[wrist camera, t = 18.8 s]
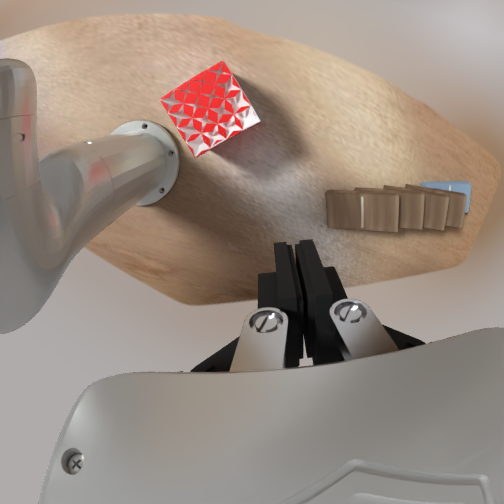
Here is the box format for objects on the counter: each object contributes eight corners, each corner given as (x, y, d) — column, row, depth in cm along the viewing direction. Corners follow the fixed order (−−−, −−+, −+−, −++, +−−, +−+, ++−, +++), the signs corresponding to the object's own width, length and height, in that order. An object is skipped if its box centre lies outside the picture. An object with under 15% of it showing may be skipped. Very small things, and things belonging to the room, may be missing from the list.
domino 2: (355, 224, 37) (422, 229, 32) (354, 190, 35) (424, 195, 30) (356, 220, 38) (420, 225, 33) (355, 187, 36) (423, 191, 31)
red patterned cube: (180, 102, 31) (159, 99, 24) (231, 72, 29) (222, 60, 22) (209, 150, 35) (195, 158, 28) (261, 121, 33) (260, 122, 26)
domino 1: (327, 227, 37) (397, 232, 33) (325, 193, 35) (399, 196, 30) (329, 223, 39) (397, 227, 34) (327, 190, 36) (398, 192, 32)
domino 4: (403, 219, 36) (462, 228, 31) (406, 187, 34) (467, 196, 29) (403, 215, 37) (459, 223, 33) (405, 184, 35) (464, 193, 30)
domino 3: (381, 221, 36) (443, 231, 32) (383, 188, 34) (449, 198, 29) (381, 217, 38) (442, 226, 33) (383, 185, 35) (447, 194, 31)
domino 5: (424, 216, 35) (468, 212, 34) (426, 184, 33) (471, 183, 32) (419, 212, 37) (463, 208, 36) (420, 181, 35) (465, 181, 33)
